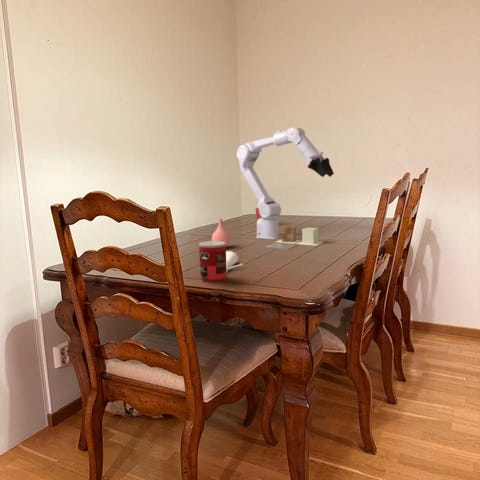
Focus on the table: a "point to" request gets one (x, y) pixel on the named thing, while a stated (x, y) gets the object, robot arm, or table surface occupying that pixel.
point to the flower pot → (258, 214)
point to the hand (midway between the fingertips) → (328, 175)
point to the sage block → (310, 235)
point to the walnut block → (288, 234)
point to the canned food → (212, 261)
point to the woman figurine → (231, 260)
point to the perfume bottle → (221, 234)
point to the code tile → (310, 244)
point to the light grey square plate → (282, 246)
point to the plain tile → (289, 242)
